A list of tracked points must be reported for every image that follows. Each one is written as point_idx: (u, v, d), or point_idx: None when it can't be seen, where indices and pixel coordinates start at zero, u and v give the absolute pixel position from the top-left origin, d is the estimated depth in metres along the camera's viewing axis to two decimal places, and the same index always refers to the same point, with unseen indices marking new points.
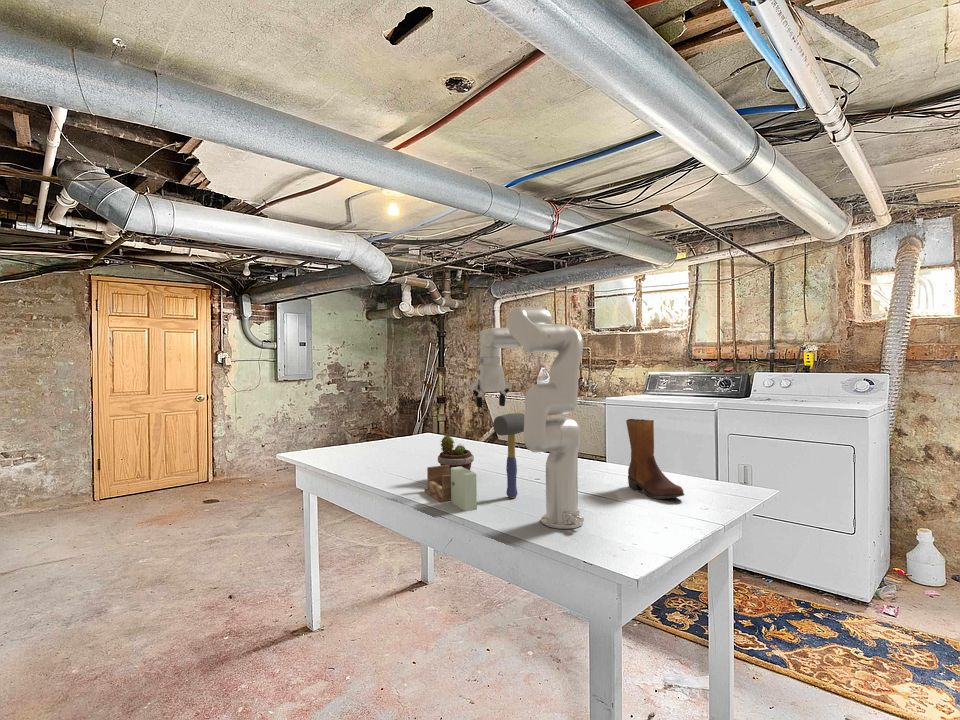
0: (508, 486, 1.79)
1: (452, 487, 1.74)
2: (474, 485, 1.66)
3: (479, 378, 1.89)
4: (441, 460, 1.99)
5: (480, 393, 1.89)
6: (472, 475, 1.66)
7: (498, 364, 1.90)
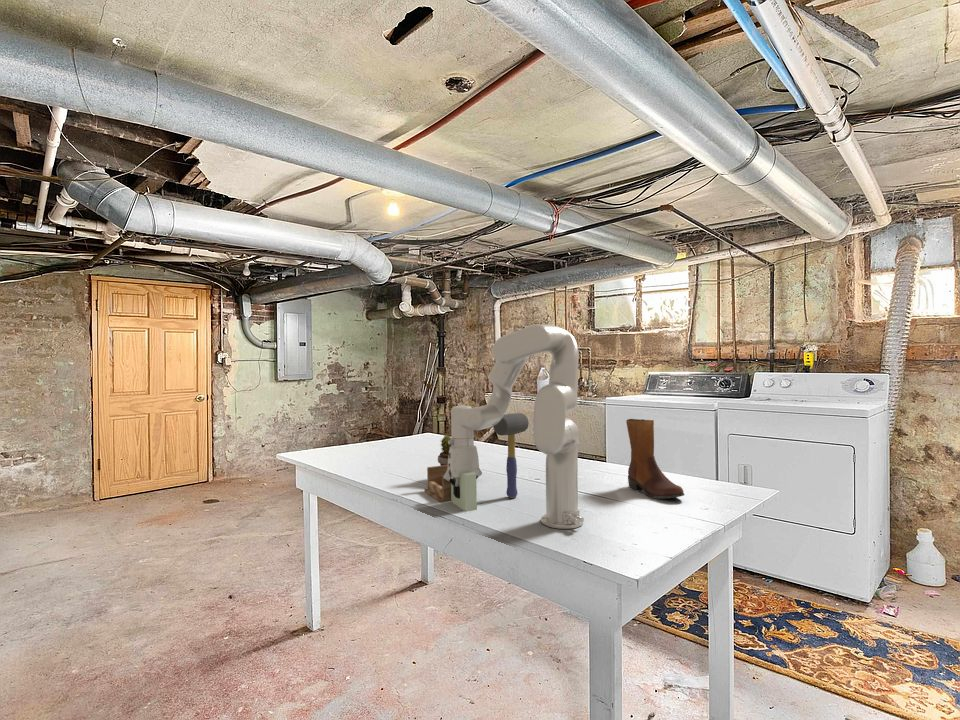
0: (508, 486, 1.79)
1: (452, 487, 1.74)
2: (474, 485, 1.66)
3: (450, 462, 1.68)
4: (441, 460, 1.99)
5: (456, 482, 1.68)
6: (472, 475, 1.66)
7: (471, 446, 1.69)
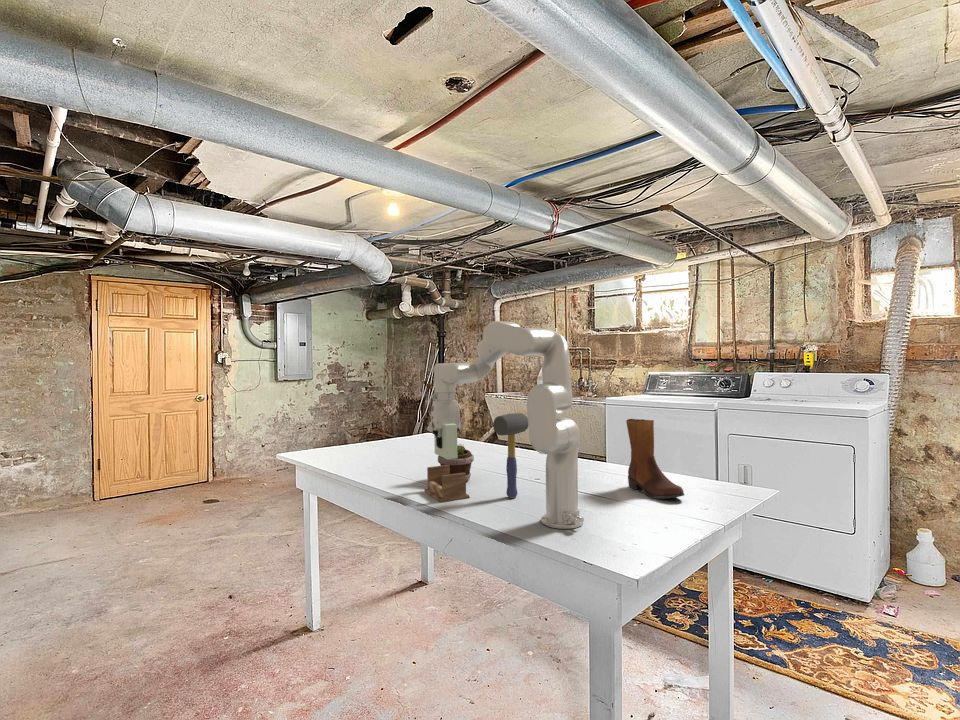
0: (508, 486, 1.79)
1: (435, 439, 1.87)
2: (455, 435, 1.79)
3: (433, 415, 1.81)
4: (441, 460, 1.99)
5: (439, 433, 1.82)
6: (453, 426, 1.79)
7: (453, 400, 1.82)
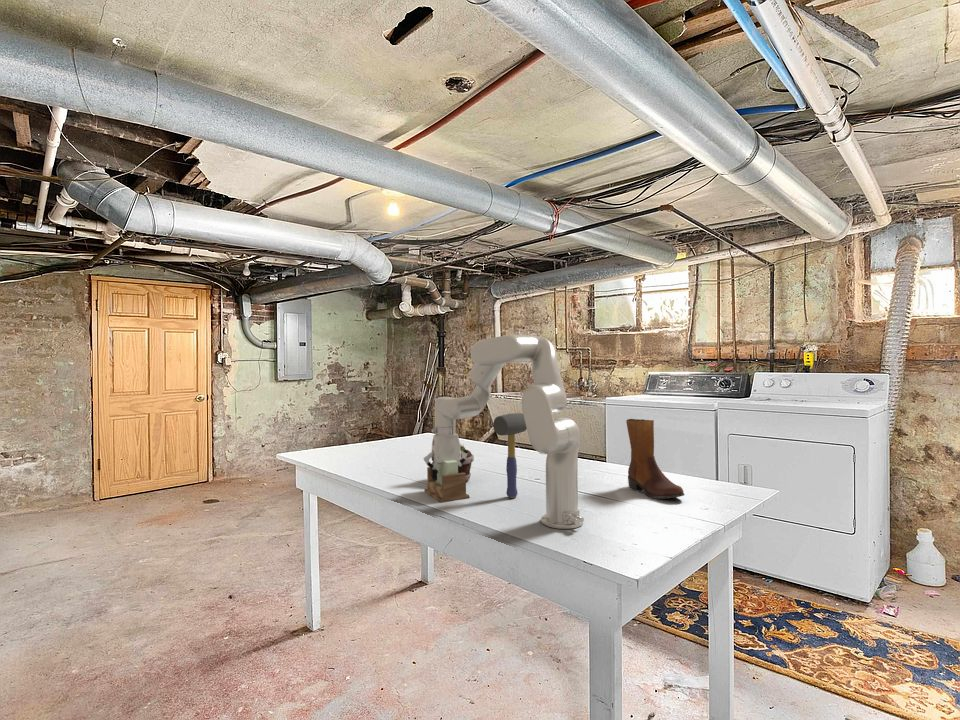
0: (508, 486, 1.79)
1: None
2: (456, 472, 1.79)
3: (433, 449, 1.81)
4: None
5: (435, 465, 1.81)
6: (454, 463, 1.79)
7: (453, 434, 1.82)
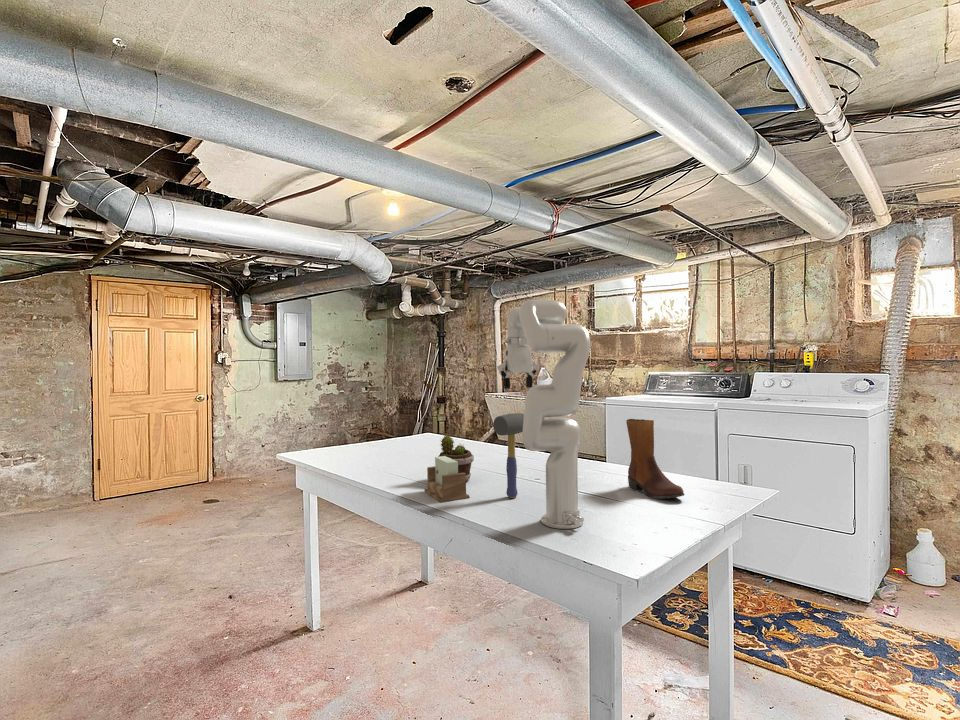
0: (508, 486, 1.79)
1: (436, 475, 1.87)
2: (456, 472, 1.79)
3: (507, 359, 1.87)
4: None
5: (508, 374, 1.86)
6: (454, 463, 1.79)
7: (526, 345, 1.87)
